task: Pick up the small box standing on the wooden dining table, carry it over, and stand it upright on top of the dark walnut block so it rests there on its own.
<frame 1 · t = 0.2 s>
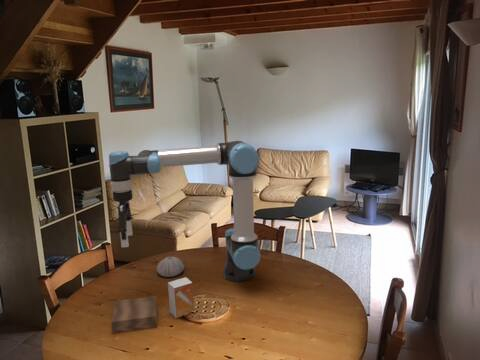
hand: (127, 240, 165), 28 cm above the table, tool pointing down, fingers open, 13 cm apart
small box: (182, 312, 162), on the table
walnut block: (136, 319, 159), on the table
sea urchin shell: (170, 273, 199), on the table
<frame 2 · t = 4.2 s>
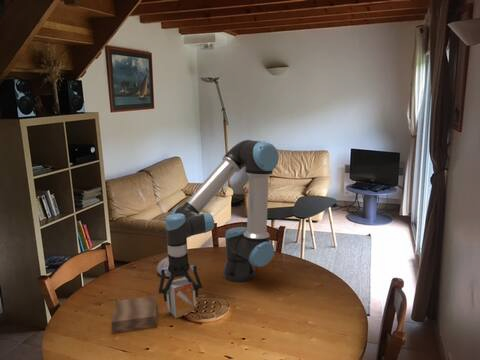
hand: (181, 306, 161), 3 cm above the table, tool pointing down, fingers closed on small box, 10 cm apart
small box: (182, 312, 162), on the table, touching gripper
everything else where it was.
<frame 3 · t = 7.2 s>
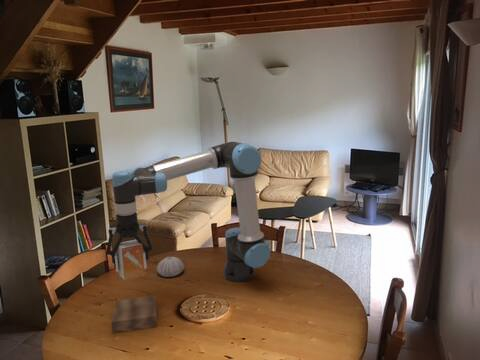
hand: (131, 269, 154), 21 cm above the table, tool pointing down, fingers closed on small box, 10 cm apart
small box: (132, 276, 155), point 18 cm above the table, touching gripper
everything else where it was.
when the fingers open (9 cm above the table, at t = 10.3 s): small box drops 2 cm, point 4 cm above the table.
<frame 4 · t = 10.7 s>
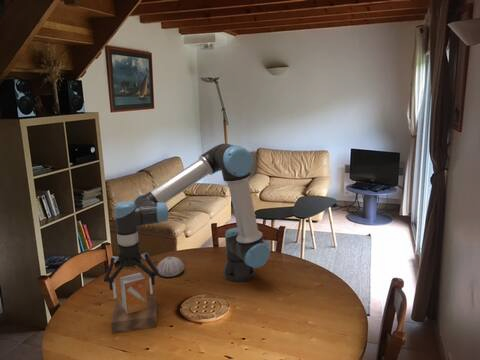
hand: (133, 294, 156), 10 cm above the table, tool pointing down, fingers open, 13 cm apart
small box: (135, 308, 158), point 4 cm above the table
everything else where it was.
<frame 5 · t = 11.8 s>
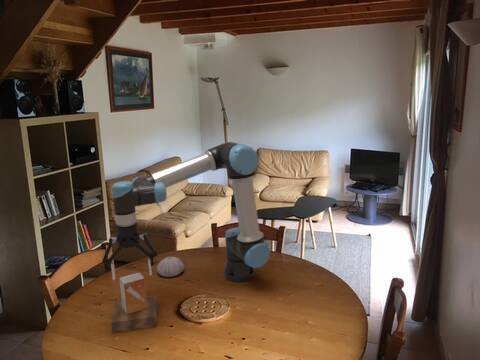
hand: (132, 276, 155), 18 cm above the table, tool pointing down, fingers open, 13 cm apart
nothing on the table moved.
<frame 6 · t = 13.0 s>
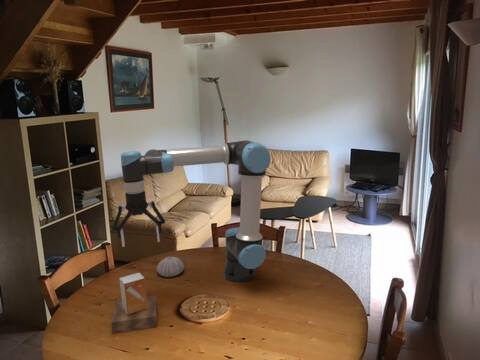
hand: (141, 243, 161), 28 cm above the table, tool pointing down, fingers open, 13 cm apart
nothing on the table moved.
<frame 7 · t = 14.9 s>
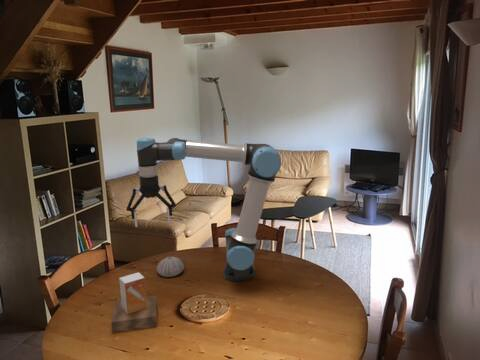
hand: (152, 224, 172), 32 cm above the table, tool pointing down, fingers open, 13 cm apart
small box: (134, 308, 158), point 4 cm above the table, touching walnut block
walnut block: (136, 319, 159), on the table, touching small box
everything else where it was.
at the end: small box inside the target area on the walnut block (0.3 cm from its centre), point 4.9 cm above the walnut block's base; small box tilted 1°; small box touching walnut block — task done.
